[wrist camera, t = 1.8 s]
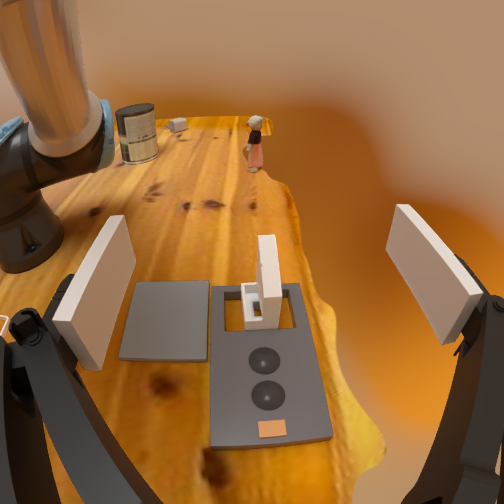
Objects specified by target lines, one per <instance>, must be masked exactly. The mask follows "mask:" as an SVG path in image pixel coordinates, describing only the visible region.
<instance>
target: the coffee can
mask: <svg viewBox="0 0 504 504" xmlns="http://www.w3.org/2000/svg"><path fill="white" fill-rule="evenodd" d="M115 115H116V120H117V127H118V133H119V140H120V146H121V152H122V158H123V162H124V163H125V164H141V163H145V162H148V161H151V160H153V159H155V158H156V157H157V156H158V155H159V152H158V144H157V135H156V125H155V116H154V104H150V103H145V104H136V105H131V106H127V107H124V108H121V109H119V110H117V111H116V112H115Z"/></svg>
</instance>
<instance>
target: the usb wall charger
mask: <svg viewBox="0 0 504 504" xmlns="http://www.w3.org/2000/svg"><path fill="white" fill-rule="evenodd" d="M165 128H166V130H169V129H170V131H171V132H173V133H176V132H180V131H184V130H187V126H186V119H184V118H178V119H173V120H170V121H169V125H168V126H165ZM165 128H164V129H165ZM167 128H168V129H167Z"/></svg>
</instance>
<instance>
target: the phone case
mask: <svg viewBox="0 0 504 504" xmlns="http://www.w3.org/2000/svg"><path fill="white" fill-rule="evenodd" d="M0 320H5V321H6V322H5V324H4V326H3V329H2V331H1V333H0V336H2V337H3V338H5V335H6V333H7V331H8V327H9V323H10V321H11V320H10V319H9V317H8V316H3V315H0Z"/></svg>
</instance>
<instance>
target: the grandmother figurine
mask: <svg viewBox="0 0 504 504" xmlns="http://www.w3.org/2000/svg"><path fill="white" fill-rule="evenodd" d="M262 122H263V118H262V117H260V116H253V117H251V118H250V119H249V121H248V124H249V125H250V127H251V129H252V131H251V133H250V135H249V141H248V145H247V149H246V151H247V152H250V153H249V161H248V166H249V167H248V168H247V170H248V171H250V172H258V171H259V170H258V168H261V167H262V166H263V154H262V147H261V143H260V142H261V141H262V140H261V132H260V131H259V130H261V128H262Z"/></svg>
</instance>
